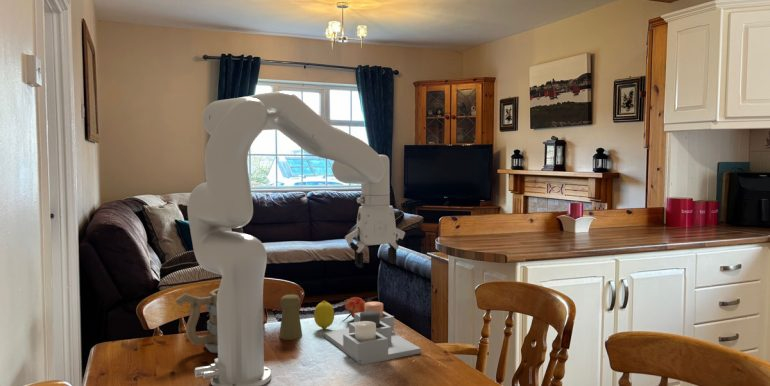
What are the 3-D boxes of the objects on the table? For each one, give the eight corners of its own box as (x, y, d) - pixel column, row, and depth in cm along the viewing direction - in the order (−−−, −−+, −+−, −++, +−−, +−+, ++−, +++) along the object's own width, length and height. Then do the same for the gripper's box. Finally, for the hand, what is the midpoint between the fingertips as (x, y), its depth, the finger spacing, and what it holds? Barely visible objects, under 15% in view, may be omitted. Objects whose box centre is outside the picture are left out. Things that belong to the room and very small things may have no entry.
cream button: (360, 345, 132) (360, 328, 131) (351, 339, 136) (351, 322, 136) (379, 342, 134) (379, 325, 134) (370, 336, 138) (370, 320, 138)
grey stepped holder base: (357, 365, 130) (357, 344, 129) (319, 336, 150) (319, 318, 150) (424, 352, 138) (424, 332, 138) (380, 327, 159) (380, 309, 158)
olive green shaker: (276, 334, 152) (276, 293, 152) (298, 331, 155) (298, 291, 154) (282, 341, 147) (282, 299, 146) (305, 337, 149) (304, 296, 149)
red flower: (350, 333, 160) (377, 311, 161) (334, 313, 160) (361, 290, 161) (349, 328, 167) (375, 306, 168) (333, 309, 167) (360, 287, 168)
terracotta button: (369, 322, 149) (369, 307, 149) (361, 317, 154) (361, 303, 154) (386, 319, 152) (386, 305, 152) (377, 315, 156) (377, 300, 156)
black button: (365, 333, 140) (365, 317, 140) (356, 327, 145) (356, 312, 145) (383, 330, 143) (383, 314, 143) (374, 324, 147) (374, 309, 147)
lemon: (331, 333, 153) (330, 304, 153) (311, 331, 154) (311, 303, 154) (336, 327, 159) (336, 298, 158) (317, 325, 160) (317, 297, 159)
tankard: (248, 334, 152) (247, 279, 151) (265, 347, 142) (264, 288, 141) (170, 347, 142) (169, 288, 141) (182, 363, 131) (181, 299, 130)
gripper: (351, 204, 143) (352, 270, 144) (410, 200, 151) (410, 264, 152) (339, 201, 150) (340, 265, 151) (397, 198, 158) (397, 259, 159)
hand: (375, 264), depth 152 cm, fingers open, 9 cm apart
